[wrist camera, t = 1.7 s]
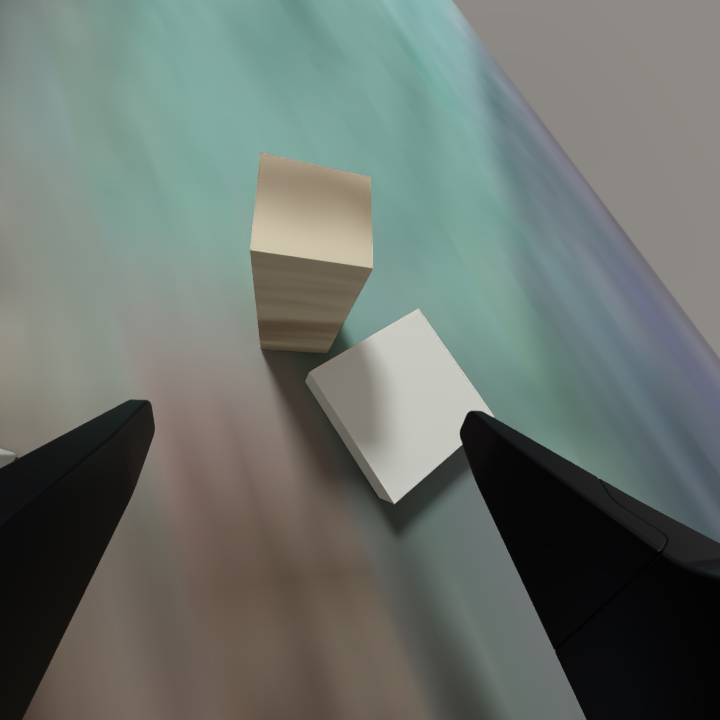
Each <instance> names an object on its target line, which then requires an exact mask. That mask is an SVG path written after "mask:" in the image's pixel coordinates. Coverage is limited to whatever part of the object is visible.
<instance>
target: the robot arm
mask: <svg viewBox="0 0 720 720" xmlns="http://www.w3.org/2000/svg"><path fill="white" fill-rule="evenodd" d="M154 431H155V424H154V418H153V411H152V405H151V403H150V402H149V401H148V400H128V401H126V402H124V403H122V404H120V405H119V406H117V407H115V408H113V409H111V410H109V411H107V412H105V413H103V414H102V415H100V416H98V417H96V418H94V419H92V420H90V421H88V422H86V423H85V424H83V425H81V426H79V427H77V428H75V429H73V430H71V431H69V432H68V433H66V434H64V435H62V436H60V437H58V438H56V439H54V440H53V441H51V442H49V443H47V444H45V445H43V446H41V447H39V448H37V449H36V450H34V451H32V452H30V453H28V454H26V455H24V456H22V457H20V458H19V459H17V460H15V461H13V462H11V463H9V464H7V465H5V466H3V467H2V468H0V720H22V719H23V717H24V715H25V713H26V711H27V709H28V707H29V705H30V703H31V700H32V698H33V696H34V694H35V692H36V690H37V688H38V686H39V684H40V682H41V680H42V678H43V676H44V674H45V672H46V670H47V668H48V666H49V664H50V662H51V660H52V658H53V656H54V654H55V652H56V650H57V648H58V645H59V643H60V641H61V639H62V637H63V635H64V633H65V631H66V629H67V627H68V625H69V623H70V621H71V619H72V617H73V615H74V613H75V611H76V609H77V607H78V605H79V603H80V601H81V599H82V597H83V595H84V592H85V590H86V588H87V586H88V584H89V582H90V580H91V578H92V576H93V574H94V572H95V570H96V568H97V566H98V564H99V562H100V560H101V558H102V556H103V554H104V552H105V550H106V548H107V546H108V544H109V542H110V540H111V537H112V535H113V533H114V531H115V529H116V527H117V525H118V523H119V521H120V519H121V517H122V515H123V513H124V511H125V509H126V507H127V505H128V503H129V501H130V499H131V496H132V494H133V492H134V489H135V487H136V484H137V481H138V479H139V476H140V473H141V470H142V467H143V464H144V461H145V459H146V456H147V453H148V450H149V447H150V444H151V442H152V439H153V436H154ZM460 439H461V442H462V445H463V447H464V450H465V453H466V456H467V459H468V462H469V464H470V467H471V470H472V473H473V475H474V478H475V481H476V483H477V485H478V488H479V490H480V492H481V494H482V496H483V498H484V500H485V503H486V505H487V507H488V509H489V511H490V513H491V515H492V518H493V520H494V522H495V524H496V526H497V528H498V530H499V532H500V535H501V537H502V539H503V541H504V543H505V545H506V547H507V550H508V552H509V554H510V556H511V558H512V560H513V562H514V565H515V567H516V569H517V571H518V573H519V575H520V577H521V580H522V582H523V584H524V586H525V588H526V590H527V592H528V595H529V597H530V599H531V601H532V603H533V605H534V607H535V610H536V612H537V614H538V616H539V618H540V620H541V622H542V625H543V627H544V629H545V631H546V633H547V635H548V637H549V640H550V642H551V644H552V646H553V648H554V649H555V653H556V655H557V657H558V659H559V662H560V664H561V666H562V668H563V670H564V672H565V674H566V677H567V679H568V681H569V683H570V685H571V687H572V689H573V692H574V694H575V696H576V698H577V700H578V702H579V704H580V707H581V709H582V711H583V713H584V715H585V717H586V719H587V720H720V543H718V542H716V541H714V540H712V539H710V538H708V537H706V536H705V535H703V534H701V533H699V532H697V531H695V530H693V529H691V528H689V527H687V526H685V525H684V524H682V523H680V522H678V521H676V520H674V519H672V518H670V517H668V516H666V515H665V514H663V513H661V512H659V511H657V510H655V509H653V508H651V507H650V506H648V505H646V504H644V503H642V502H640V501H638V500H637V499H635V498H633V497H631V496H629V495H628V494H626V493H624V492H622V491H621V490H619V489H617V488H615V487H613V486H612V485H610V484H608V483H606V482H605V481H603V480H601V479H598V478H597V477H596V476H594V475H592V474H591V473H589V472H587V471H585V470H584V469H582V468H580V467H579V466H577V465H575V464H573V463H572V462H570V461H568V460H566V459H565V458H563V457H561V456H559V455H558V454H556V453H554V452H552V451H551V450H549V449H547V448H546V447H544V446H542V445H540V444H539V443H537V442H535V441H533V440H532V439H530V438H528V437H526V436H525V435H523V434H521V433H519V432H518V431H516V430H514V429H512V428H511V427H509V426H507V425H506V424H504V423H502V422H500V421H499V420H497V419H495V418H493V417H492V416H490V415H488V414H486V413H485V412H483V411H469V412H468V413H467V415H466V417H465V419H464V422H463V424H462V426H461V429H460Z"/></svg>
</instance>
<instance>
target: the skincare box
mask: <svg viewBox="0 0 720 720" xmlns="http://www.w3.org/2000/svg"><path fill="white" fill-rule="evenodd" d="M15 458H16V454H15V453H13V452H10V451H6V450H3V449H0V468H2V467H3V466H5V465H7V464H9V463H11V462H13V461H14V459H15Z"/></svg>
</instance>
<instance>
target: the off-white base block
mask: <svg viewBox="0 0 720 720" xmlns="http://www.w3.org/2000/svg"><path fill="white" fill-rule="evenodd" d="M305 382H306V384H307V386H308V387H309V389H310V390H311V392H312V393H313V395H314V397H315V398H316V400H317V401H318V403H319V404H320V406H321V407H322V409H323V411H324V412H325V414H326V415H327V417H328V418H329V420H330V422H331V423H332V425H333V426H334V428H335V429H336V431H337V433H338V434H339V436H340V437H341V439H342V440H343V442H344V444H345V445H346V447H347V448H348V450H349V451H350V453H351V455H352V456H353V458H354V459H355V461H356V462H357V464H358V466H359V467H360V469H361V470H362V472H363V473H364V475H365V476H366V478H367V480H368V481H369V483H370V484H371V486H372V487H373V489H374V491H375V492H376V494H377V495H378V497H379V498H381V499H383V500H386V501H388V502H391V503H393V504H395V503H396V502H397V501H398V500H400V499H401V498H402V497H403V496H404V495H405V494H406V493H408V492H409V491H410V490H411V489H412V488H413V487H414V486H416V485H417V484H418V483H419V482H420V481H421V480H422V479H424V478H425V477H426V476H427V475H428V474H429V473H430V472H432V471H433V470H434V469H435V468H436V467H437V466H438V465H440V464H441V463H442V462H443V461H444V460H445V459H446V458H448V457H449V456H450V455H451V454H452V453H453V452H454V451H456V450H457V449H458V448H459V447H460V446H461V445H462V442H461V439H460V429H461V426H462V424H463V422H464V419H465V417H466V415H467V413H468V412H469V411H483V412H485V413H486V414H488V415H490V416H492V417H494V415H493V414H492V412H491V411H490V410H489V408H488V407H487V405H486V404H485V403H484V401H483V400H482V398H481V397H480V395H479V394H478V393H477V391H476V390H475V388H474V387H473V385H472V384H471V383H470V381H469V380H468V378H467V377H466V375H465V374H464V373H463V371H462V370H461V368H460V367H459V365H458V364H457V363H456V361H455V360H454V358H453V357H452V356H451V354H450V353H449V351H448V350H447V348H446V347H445V346H444V344H443V343H442V341H441V340H440V338H439V337H438V336H437V334H436V333H435V331H434V330H433V328H432V327H431V326H430V324H429V323H428V321H427V320H426V318H425V317H424V316H423V314H422V313H421V311H420V310H419V309H417V310H415V311H413V312H412V313H410V314H408V315H406V316H405V317H403V318H401V319H399V320H398V321H396V322H394V323H393V324H391V325H389V326H387V327H386V328H384V329H382V330H380V331H379V332H377V333H375V334H374V335H372V336H370V337H368V338H367V339H365V340H363V341H362V342H360V343H358V344H356V345H355V346H353V347H351V348H349V349H348V350H346V351H344V352H343V353H341V354H339V355H337V356H336V357H334V358H332V359H331V360H329V361H327V362H325V363H324V364H322V365H320V366H318V367H317V368H315V369H313V370H312V371H310V372H309V374H308V376H307V378H306V381H305Z"/></svg>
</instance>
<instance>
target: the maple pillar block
mask: <svg viewBox="0 0 720 720" xmlns="http://www.w3.org/2000/svg"><path fill="white" fill-rule="evenodd" d="M250 254H251V263H252V272H253V282H254V291H255V300H256V309H257V318H258V328H259V337H260V346H261V349H268V350H282V351H296V352H310V353H324V354H327V353H328V351H329V349H330V348H331V346H332V344H333V342H334V340H335V338H336V336H337V335H338V333H339V331H340V329H341V327H342V325H343V323H344V322H345V320H346V318H347V316H348V314H349V312H350V310H351V309H352V307H353V305H354V303H355V301H356V299H357V297H358V295H359V294H360V292H361V290H362V288H363V286H364V284H365V282H366V281H367V279H368V277H369V275H370V273H371V271H372V269H373V246H372V213H371V180H370V177H368V176H363V175H359V174H354V173H350V172H345V171H341V170H337V169H332V168H328V167H323V166H319V165H314V164H310V163H306V162H301V161H297V160H292V159H288V158H283V157H279V156H275V155H270V154H266V153H260V162H259V171H258V181H257V190H256V199H255V209H254V218H253V227H252V237H251V246H250Z"/></svg>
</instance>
